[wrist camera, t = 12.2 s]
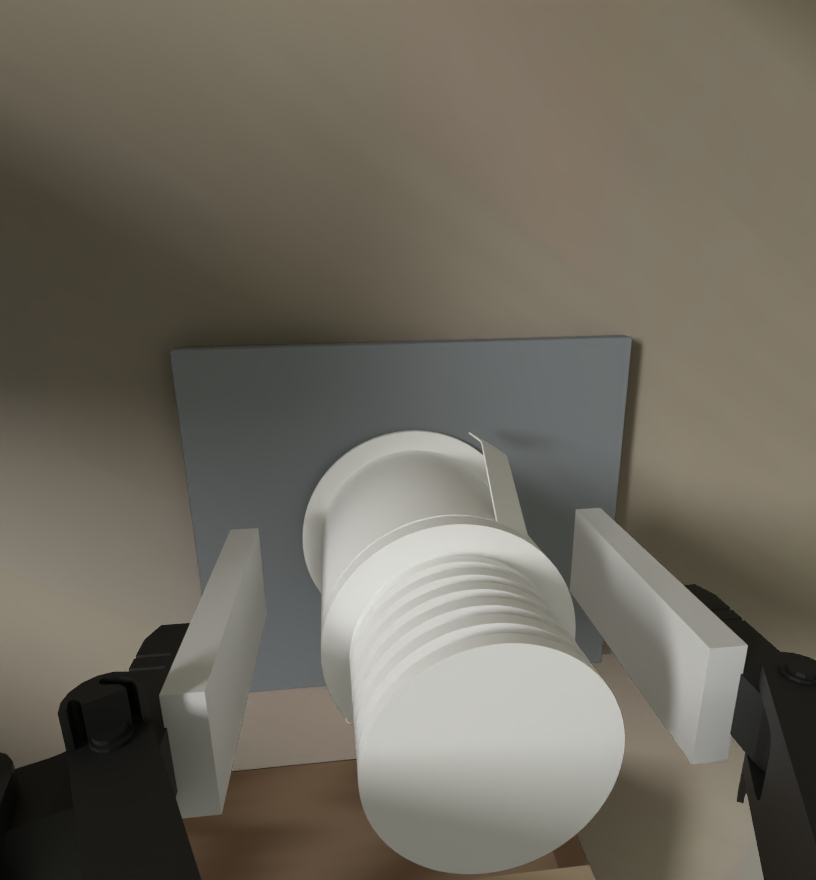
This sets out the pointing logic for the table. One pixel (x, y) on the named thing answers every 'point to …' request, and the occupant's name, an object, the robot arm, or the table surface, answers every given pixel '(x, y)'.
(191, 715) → the robot arm
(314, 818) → the open wooden box
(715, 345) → the table surface
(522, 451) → the rubber mat
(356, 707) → the downlight
